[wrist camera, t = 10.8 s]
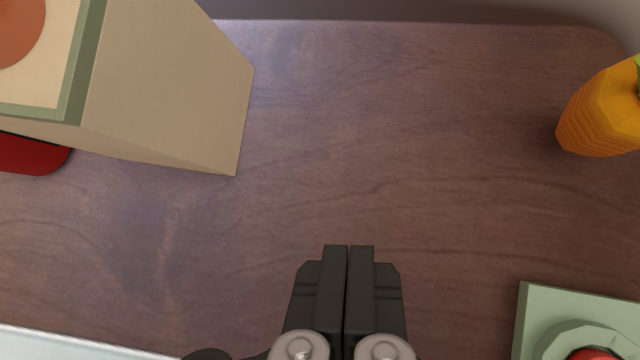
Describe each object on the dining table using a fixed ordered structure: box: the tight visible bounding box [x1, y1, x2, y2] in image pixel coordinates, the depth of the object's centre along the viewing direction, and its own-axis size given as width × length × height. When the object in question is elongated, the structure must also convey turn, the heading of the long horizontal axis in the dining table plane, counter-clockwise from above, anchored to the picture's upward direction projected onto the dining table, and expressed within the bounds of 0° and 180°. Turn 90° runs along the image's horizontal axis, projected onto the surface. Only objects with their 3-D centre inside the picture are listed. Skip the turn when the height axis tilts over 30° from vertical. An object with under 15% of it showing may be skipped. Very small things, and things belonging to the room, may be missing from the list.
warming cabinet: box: [0, 0, 255, 176], centre depth 29 cm, size 12×10×19 cm
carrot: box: [555, 54, 640, 157], centre depth 24 cm, size 5×5×15 cm
